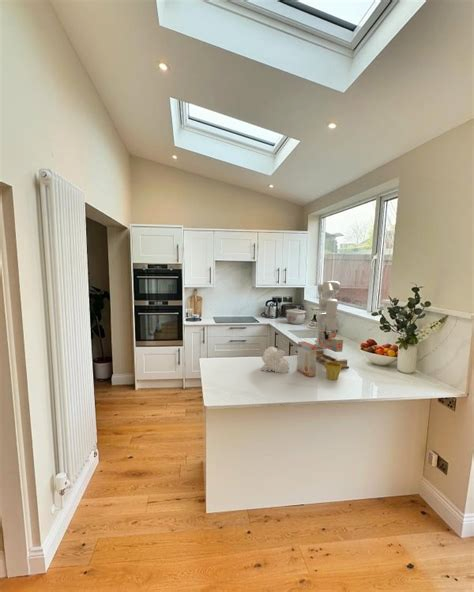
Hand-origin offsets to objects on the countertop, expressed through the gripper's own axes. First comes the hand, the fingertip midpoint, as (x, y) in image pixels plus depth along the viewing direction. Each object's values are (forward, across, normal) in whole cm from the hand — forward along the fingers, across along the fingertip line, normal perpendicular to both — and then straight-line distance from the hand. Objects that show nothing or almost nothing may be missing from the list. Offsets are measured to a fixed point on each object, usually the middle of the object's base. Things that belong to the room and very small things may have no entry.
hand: (329, 338), depth 225 cm
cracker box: (+19, +31, +13) cm, 39 cm away
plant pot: (+19, +20, +27) cm, 39 cm away
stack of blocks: (+7, 0, +1) cm, 7 cm away
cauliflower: (+19, +49, 0) cm, 53 cm away
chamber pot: (+19, -72, -148) cm, 166 cm away
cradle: (+19, 0, 0) cm, 19 cm away
